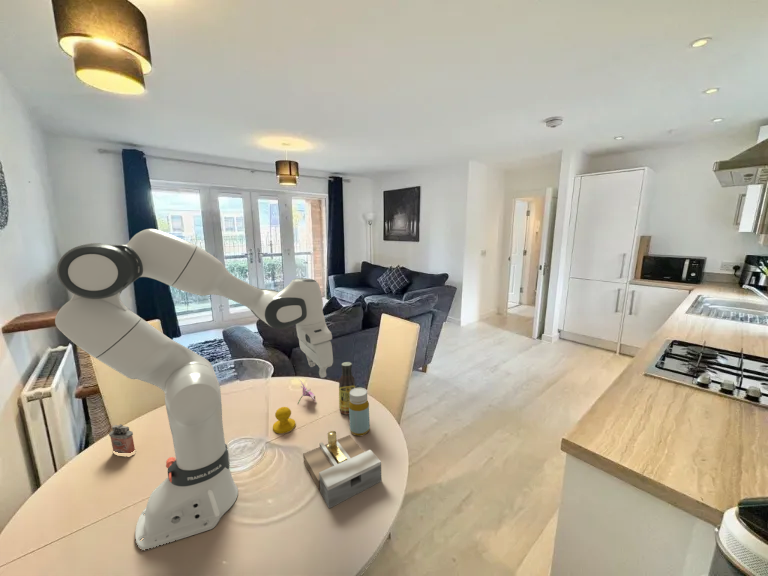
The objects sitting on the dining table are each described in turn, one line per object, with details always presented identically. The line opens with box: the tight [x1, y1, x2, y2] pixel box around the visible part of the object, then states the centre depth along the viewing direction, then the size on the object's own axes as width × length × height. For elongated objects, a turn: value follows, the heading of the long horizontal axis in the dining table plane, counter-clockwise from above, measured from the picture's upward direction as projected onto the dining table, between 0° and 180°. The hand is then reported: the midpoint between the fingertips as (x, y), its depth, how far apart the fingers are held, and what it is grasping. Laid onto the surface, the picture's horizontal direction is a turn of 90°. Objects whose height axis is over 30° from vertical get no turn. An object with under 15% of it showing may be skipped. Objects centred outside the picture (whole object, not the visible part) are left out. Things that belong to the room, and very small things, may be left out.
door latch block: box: [302, 434, 383, 509], centre depth 92 cm, size 20×16×6 cm
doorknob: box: [272, 406, 297, 435], centre depth 115 cm, size 8×8×8 cm
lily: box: [297, 379, 318, 405], centre depth 132 cm, size 12×12×10 cm
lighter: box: [108, 423, 136, 453], centre depth 102 cm, size 8×3×10 cm, turn 76°
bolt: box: [327, 430, 347, 464], centre depth 94 cm, size 9×3×6 cm, turn 33°
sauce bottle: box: [338, 361, 356, 415], centre depth 123 cm, size 7×6×20 cm
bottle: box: [348, 387, 370, 437], centre depth 111 cm, size 7×7×15 cm
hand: (317, 371), depth 99 cm, fingers open, 8 cm apart
